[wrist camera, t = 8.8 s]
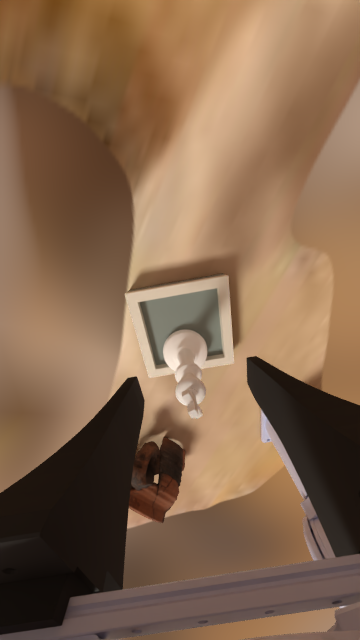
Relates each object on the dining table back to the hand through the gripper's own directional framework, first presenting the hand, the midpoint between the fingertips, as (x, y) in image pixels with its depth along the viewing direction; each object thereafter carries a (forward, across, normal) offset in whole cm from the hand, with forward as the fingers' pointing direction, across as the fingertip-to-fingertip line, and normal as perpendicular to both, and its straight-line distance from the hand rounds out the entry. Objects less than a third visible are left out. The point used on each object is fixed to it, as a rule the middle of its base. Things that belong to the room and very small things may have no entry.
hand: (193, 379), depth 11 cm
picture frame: (+9, 0, 0) cm, 9 cm away
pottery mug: (+10, +8, +21) cm, 24 cm away
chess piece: (+8, 0, +2) cm, 8 cm away
